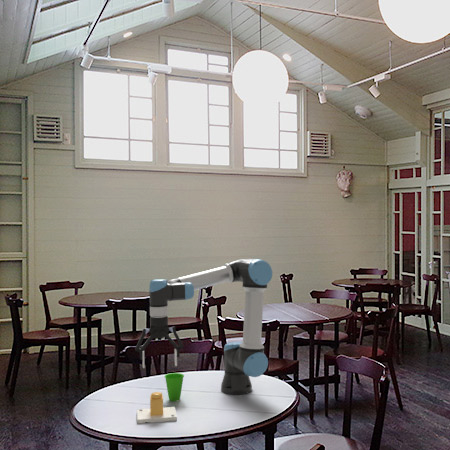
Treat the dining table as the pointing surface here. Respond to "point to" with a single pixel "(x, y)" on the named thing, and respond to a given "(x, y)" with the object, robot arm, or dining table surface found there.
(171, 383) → the cup
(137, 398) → the dining table surface
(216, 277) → the robot arm
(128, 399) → the dining table surface
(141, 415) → the lid
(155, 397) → the ball on cube
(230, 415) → the dining table surface
